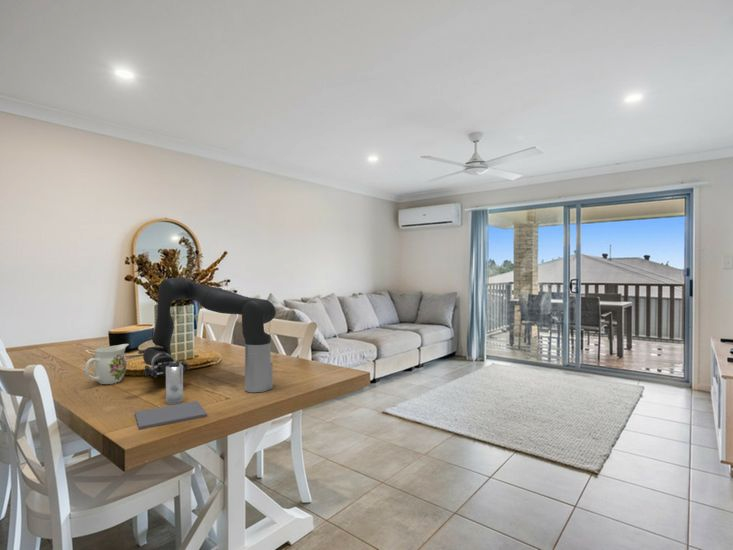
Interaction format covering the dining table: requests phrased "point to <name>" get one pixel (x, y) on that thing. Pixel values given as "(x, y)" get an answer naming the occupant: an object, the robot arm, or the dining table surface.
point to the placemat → (169, 414)
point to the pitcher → (108, 364)
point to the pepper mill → (174, 382)
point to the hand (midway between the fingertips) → (169, 372)
